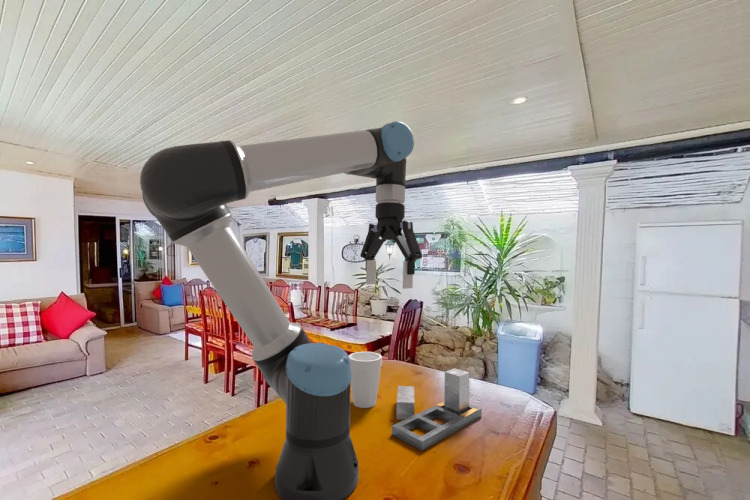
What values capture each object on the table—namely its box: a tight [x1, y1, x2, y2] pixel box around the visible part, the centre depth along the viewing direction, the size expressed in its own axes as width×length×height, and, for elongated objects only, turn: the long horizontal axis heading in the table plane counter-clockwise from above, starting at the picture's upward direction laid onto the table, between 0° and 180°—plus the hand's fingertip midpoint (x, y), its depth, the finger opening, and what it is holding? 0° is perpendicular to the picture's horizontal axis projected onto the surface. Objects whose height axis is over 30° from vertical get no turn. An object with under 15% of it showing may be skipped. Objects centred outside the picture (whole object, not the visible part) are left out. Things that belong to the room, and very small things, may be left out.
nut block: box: [396, 385, 416, 421], centre depth 92 cm, size 11×4×4 cm, turn 174°
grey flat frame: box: [391, 401, 482, 452], centre depth 84 cm, size 24×9×2 cm, turn 133°
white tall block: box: [444, 368, 470, 415], centre depth 89 cm, size 4×4×11 cm
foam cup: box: [348, 351, 383, 409], centre depth 96 cm, size 10×9×13 cm
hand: (388, 286), depth 88 cm, fingers open, 13 cm apart
